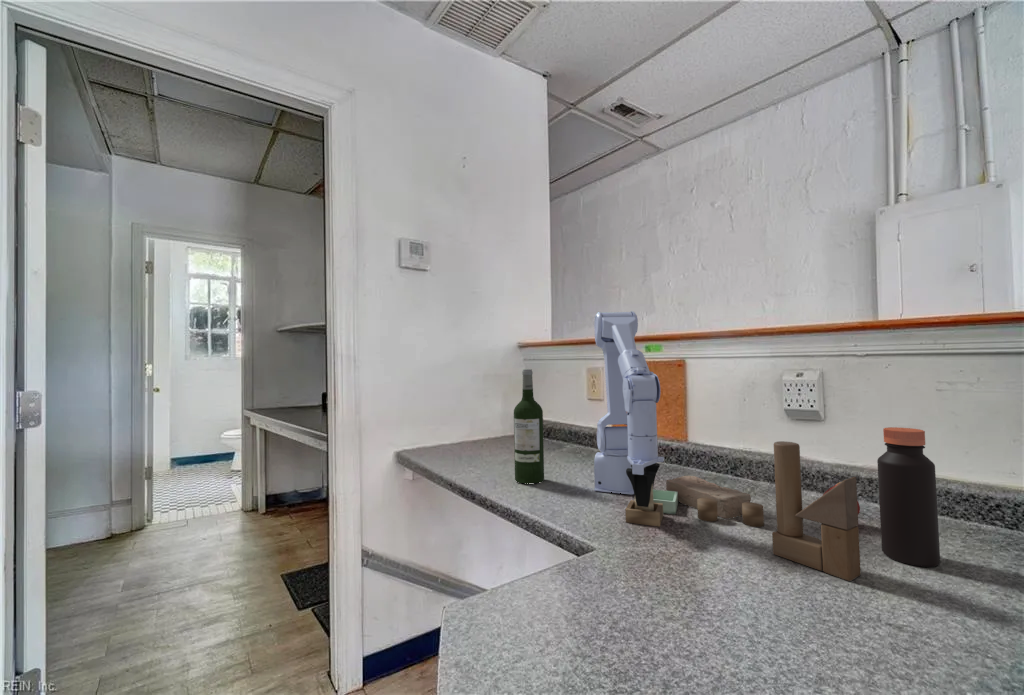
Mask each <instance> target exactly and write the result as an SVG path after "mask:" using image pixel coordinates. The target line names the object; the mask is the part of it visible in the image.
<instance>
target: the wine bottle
mask: <svg viewBox="0 0 1024 695" xmlns="http://www.w3.org/2000/svg"><path fill="white" fill-rule="evenodd" d="M521 374H522V392H521V394H522V395H521V396H522V398H521V400H520V401H519V402H518V403H517V404H516V405H515V407H514V409H513V443H514V444H513V446H514V449H513V450H514V453H513V454H514V455H513V456H514V480H516V481H517V482H519V483H518V484H520V483H526V484H525V485H529V483H539V482H541V483H543V482H544V481H545V462H544V461H545V457H544V456H545V455H544V454H545V453H544V414H543V413H544V411H543V408H542V406H541V405H540V404H539V403H538V402H537V401H536V400H535V398H534V385H533V369H529V368H528V369H522V373H521ZM516 481H515V482H516ZM542 481H543V482H542ZM517 482H516V483H517ZM527 483H528V484H527ZM539 484H540V483H539Z"/></svg>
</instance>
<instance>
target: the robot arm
mask: <svg viewBox="0 0 1024 695" xmlns="http://www.w3.org/2000/svg"><path fill="white" fill-rule="evenodd" d="M593 320H594V321H593V322H594V324H593V325H594V326H593V327H594V328H593V329H594V342H595V346H597V347H598V348H599V349H602V353H603V359H604V360H603V361H604V375H605V378H604V379H605V389H606V390H605V392H606V409H607V413H606V414H605V415H603V416H602V417H601V418H599V420H598V421H597V423H596V428H597V429H596V444H597V449H598V450H599V451H600V452H599V451H597V452H596V453H595V455H594V460H593V461H594V462H593V464H594V467H593V469H594V470H593V473H594V476H593V477H594V489H593V491H594V492H603V493H611V492H612V494H620V493H621V494H622V495H631V496H633V495H634V500H635V499H636V503H637V506H643V507H648V506H649V502H650V494H651V487H652V484H653V487H654V485H655V484H654V483H655V480H656V476H657V473H658V471H659V470H660V469H659V468H660V467H661V464H660V463H664V462H665V457H664V456H659V455H658V454H659V452H658V451H659V450H658V424H657V423H658V422H657V420H658V418H657V403H659V401H660V399H661V383H660V379H659V376H658V375H657V374H656V373H654V372H653V371H650V368H649V366H648V364H647V360H646V358H645V357H646V356H645V355H644V352H642V351H641V350H639V349H637V346H636V342H635V337H636V334H637V333H638V327H639V320H638V315H637V314H636V312H635V311H633V310H631V311H614V312H613V311H611V312H601V311H598V312H597V313H596V314H595V315H594V319H593ZM610 425H611V426H610ZM612 425H613V426H612ZM615 425H616V426H615ZM617 425H620V426H617ZM622 425H623V426H622Z"/></svg>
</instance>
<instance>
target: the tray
mask: <svg viewBox="0 0 1024 695" xmlns="http://www.w3.org/2000/svg"><path fill="white" fill-rule="evenodd" d="M653 502H654V503H663V514H668V515H669V514H670V515H676V514H677V510H678V505H679V502H678V492H676V491H666V490H664V489H654V488H653Z"/></svg>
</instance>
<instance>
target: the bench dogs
mask: <svg viewBox="0 0 1024 695" xmlns="http://www.w3.org/2000/svg"><path fill="white" fill-rule="evenodd" d="M697 505H698V509H697V519H698V520H701V521H704V522H708V523H709V522H717V521H718V520H719V519H718V518H719V516H718V515H717V501H716V500H714V499H710V498H699V499H697ZM764 513H765V512H764V505H762V504H761V503H757V502H751V501H750V502H745V503H742V516H741V517H742V523H743V525H745V526H747V527H753V528H762V527H764V526H765V520H764V518H765V515H764Z"/></svg>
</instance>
